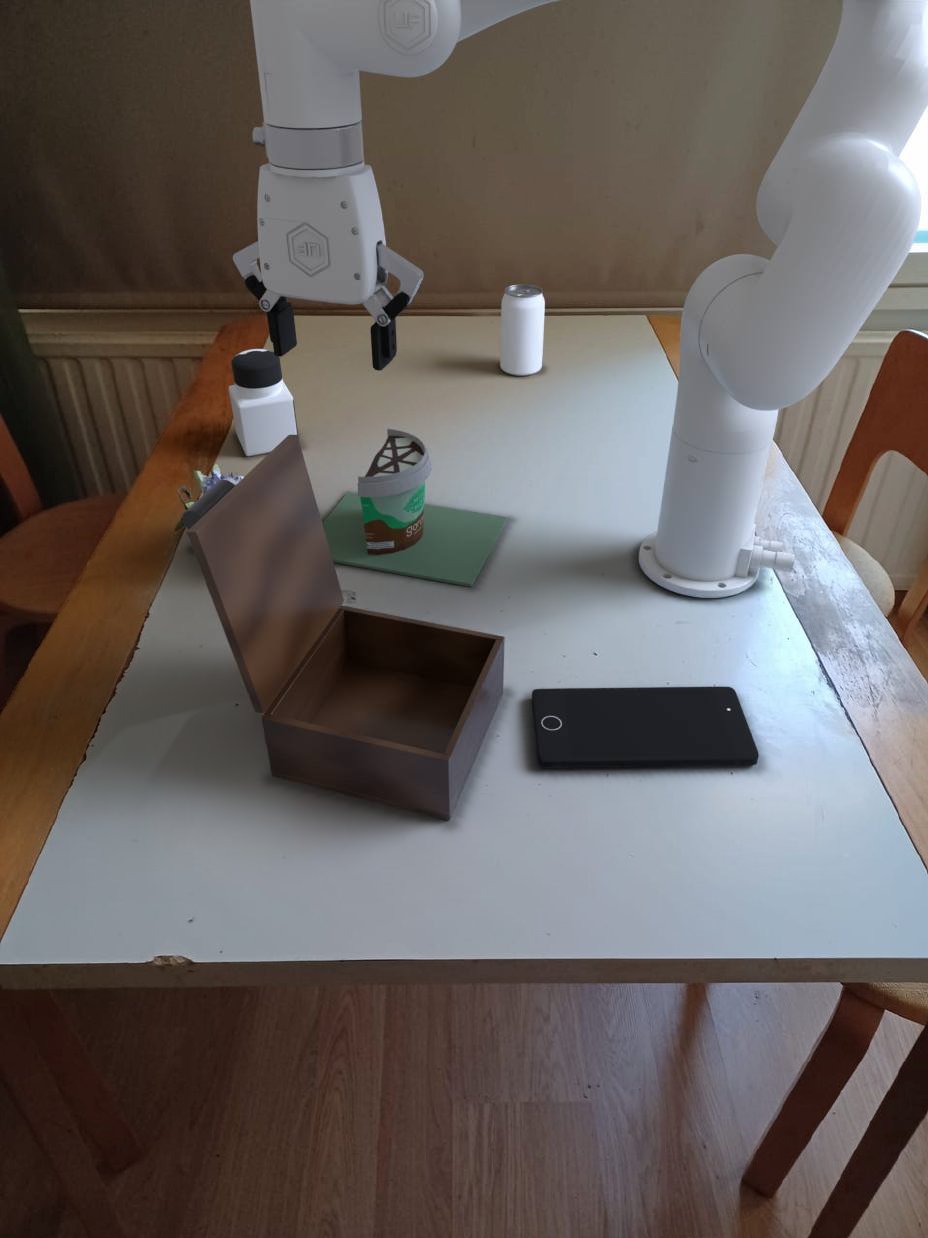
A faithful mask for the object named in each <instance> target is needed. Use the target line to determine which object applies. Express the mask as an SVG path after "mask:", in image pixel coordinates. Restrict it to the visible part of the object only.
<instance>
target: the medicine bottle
mask: <svg viewBox="0 0 928 1238" xmlns="http://www.w3.org/2000/svg"><path fill="white" fill-rule="evenodd" d="M230 363H231V369H232V375H233V383H234V384H232V385H229V386H228V394H229V400H230V404H231V406H230V407H231V411H232V416H233V422H234V428H235V434H236V436H237V438H238V441H239V443H240V445H241V447H242V449H243V453H244V454H245V456H246V457H253V456H259V455H265V454H269V453H270V452H271V451H272V450H273V449H274V448H275V447H276V446H277V445H279V444H280V443H281V442H282V441H283V440H284V439H285V438H286V437H287V436H288V435H298V439H299V431H298V430H299V429H298V422H297V416H296V408H295V400H294V397H293V395H292V393H291V391H290V390H289V389H288V387H287V385H286V384H285V381H284V379H283V371H282V366H281V365H282V364H281V357H279V356H275V355H274V351H272V350H268V349H264V348H253V349H247V350H243V351H241V352H239V353H238V354H236V355H234V357H233V358H232V359H231V362H230ZM299 440H300V439H299Z"/></svg>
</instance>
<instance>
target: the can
mask: <svg viewBox="0 0 928 1238" xmlns="http://www.w3.org/2000/svg"><path fill="white" fill-rule="evenodd" d="M545 301H546V300H545V297H544V295H543V288H541V287H540V286H537V285H534V284H524V283H522V284H513V285H509V286H506V287H505V288H504V293H503V296H502V299H501V305H500V344H499V345H500V346H499V350H500V353H499V356H500V357H499V367H500V369H501V370H502V371H503V372H504V373H506V374H507V375H511V376H516V377H528V376H533V375H535V374H537V373H539V372H540V371H541V369H542V367H543V354H544V353H543V352H544V334H545V333H544V330H545V312H546V311H545V309H546V302H545Z"/></svg>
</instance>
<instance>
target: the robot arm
mask: <svg viewBox="0 0 928 1238" xmlns="http://www.w3.org/2000/svg"><path fill="white" fill-rule="evenodd" d="M559 1H561V0H249V4H250V10H251V13H250V14H251V20H252V29H253V30H252V31H253V37H254V38H253V39H254V46H255V54H256V62H257V71H258V80H259V88H260V89H259V90H260V97H261V107H262V115H263V121H262V126H261V127H259V126H255V127H254V128H253V129H252V134H251V135H252V136H251V137H252V141H253V144H254V145H255V146H257V147H262V148H264V149H265V156H266V159H268V162H267V163H264V164H263V165H261V166H260V167H259V172H258V185H257V205H256V206H257V207H256V209H257V211H256V212H257V213H256V215H257V216H256V218H257V219H256V221H257V241H255V242H253V243H251V244H250V245H248V246H246V247H244V248H242V249H241V250H239V251H237V252H235V253H234V254H233V255H232V260H233V263H234V265H235V266H236V268H237V270H238V272H239V273H240V275H241V277H242V278H243V279H244V285H245V287H246V288H247V289H248V291H249V292H250V293H251V294H252V295H253V296H254V297H255V298H256V300H257V301H258V302H259V303H258V304H259V307H260V309H261V310H262V311H263V312H266V316H267V317H266V319H267V327H268V333H269V339H270V342H271V344H272V348H273V352H274V355H275V356H279V357H280V358H282V357H283V356H285V355H287V353H289V352H290V351H292V350H293V349H295V348H296V347H297V345H298V340H297V330H296V323H295V322H296V321H295V313H294V306H293V305H292V302H291V301H288V300H287V299H288V298H291V299H298V300H299V299H300V300H306V301H313V302H315V301H316V302H324V303H332V304H340V305H341V304H342V305H359V304H362V306H364V308H365V309H366V311H367V312H368V313H369V314H370V316H371V317H372V318H373V319H374V323H373V324H372V325H371V326H370V331H369V332H370V345H371V360H372V361H371V362H372V368H373V369H374V371H381V372H382V371H383V370H384V369H385V368H386V367H387V366H388V365H389V364H391V362H393V360H394V358H395V357H396V356H397V352H398V345H397V342H398V341H397V320H396V319H397V317H398V316H399V315H401V313H402V312H403V311H404V310H405V309H406V308H407V307H408V306H409V305H410V304H411V303H412V302H413V301H414V299H415V295H416V294H417V292H418V290H419V288H420V286H421V284H422V281H423V280H424V276H425V274H424V271H423V269H421V268H419V267H418V266H417V265H415V264H413V263H412V262H411V261H409V260H408V259H406V258H404V257H403V256H402V255H400V254H398V253H397V252H395V251H394V250H393V249H391V248H390V247H388V246H387V241H386V234H385V226H384V225H385V224H384V219H383V212H382V206H381V202H380V200H381V199H380V196H379V192H378V187H377V183H376V178H375V175H374V171H373V168H372V166H371V165H369V164H365V148H364V133H363V120H362V119H363V117H362V115H363V114H362V98H361V82H360V80H361V79H360V72H366V73H371V74H378V75H385V76H390V77H398V78H418V77H422V76H425V75H426V76H427V75H429V74H430V73H433V72H434V71H436V70H438V69H439V68H440V67H441V66H442V65H443V64H445V62H447V60H448V59H449V57H450V56H451V54H452V53H453V52H454V49H455V47H456V45H457V43H459V42H461V41H463V40H465V39H467V38H469V37H472V36H473V35H475V34H477V33H479V32H481V31H484V30H486V29H488V28H489V27H492V26H494V25H496V24H498V23H500V22H503V21H504V20H506V19H509V18H511V17H514V16H516V15H518V14H521V13H523V12H524V13H525V12H526V11H529V10H532V9H535V8H536V7H539V6H543V5H546V4H550V3H555V2H559ZM840 17H841V18H840V23H839V26H838V31H837V35H836V38H835V39H834V40H835V41H834V43H833V46H832V49H831V51H830V53H829V55H828V58H827V60H826V61H825V63H824V65H823V68H822V70H821V72H820V74H819V76H818V78H817V80H816V82H815V85H814V86H813V88H812V90H811V92H810V93H809V95H808V97H807V99H806V100H805V103H804V104H803V106H802V107H801V110H800V111H799V112H798V115H797V117H796V118H795V120H794V122H793V124H792V126H791V127H790V129H789V131H788V133H787V135H786V137H785V138H784V140H783V142H782V143H781V146H780V147H779V149H778V151H777V153H776V154H775V156H774V158H773V159H772V161H771V162H770V165H769V167H768V168H767V170H766V172H765V174H764V176H763V178H762V179H761V180H762V181H761V183H760V185H759V188H758V191H757V194H756V198H755V213H756V218H757V222H758V224H759V226H760V228H761V229H762V231H763V233H764V235H765V236H766V237H767V238H768V239H769V240H770V241H771V242H772V243H773V244H774V245H775V246H776V249H775V251H774V252H773V254H772V256H771V258H770V260H769V259H767V258H765V257H762V256H759V255H755V254H751V253H741V254H740V253H739V254H738V253H737V254H732V255H728V256H725V257H722V258H720V259H718V260H716V261H715V262H713V263H711V264H710V265H708V267H706V268H705V269H703V271H702V272H701V273H700V274H699V275H698V276H697V277H696V279H695V280H694V282H693V283H692V285H691V287H690V289H689V291H688V293H687V296H686V298H685V302H684V305H683V307H682V314H681V320H680V321H681V322H680V330H679V331H680V332H679V363H678V379H677V392H676V399H675V407H674V413H673V419H672V427H671V433H670V440H669V446H668V453H667V461H666V468H665V474H664V480H663V488H662V493H661V502H660V508H659V515H658V516H659V517H658V523H657V528H656V529H657V530H656V531H655V532H653V533H652V534H649V535H648V536H647V537H646V538H645V539H644V540H643V541H642V543H641V544H640V547H639V552H638V563H639V567H640V569H641V570H642V572H643V573H644V574H645V575H646V577H648V578H649V579H650V580H651V581H652V582H654V583H655V584H656V585H658V586H660V587H662V588H664V589H665V590H668V591H671V592H674V593H676V594H679V595H683V596H687V597H693V598H701V599H719V598H726V597H727V598H728V597H731V596H734V595H737V594H740V593H742V592H745V591H746V590H748V589H749V588H751V587H752V586H753V585H754V584H755V582H757V579H758V577H759V574H760V570H761V568H766V569H771V570H774V571H779V572H786V573H792V572H793V567H794V562H795V557H796V556H795V553H792V552H784V551H782V550H783V544H784V542H783V541H778V540H766V539H761V536H758V535H755V534H756V527H757V524H756V522H755V521H756V516H757V511H758V508H759V507H758V506H759V503H760V499H761V498H760V497H761V493H762V488H763V485H764V479H765V475H766V471H767V467H768V461H769V457H770V453H771V448H772V445H773V444H772V443H773V440H774V438H775V437H774V436H775V432H776V428H777V427H776V426H777V422H778V418H779V410H782V409H785V408H788V407H790V406H793V405H794V404H797V403H799V402H800V401H802V400H803V399H805V398H806V397H807V396H808V395H811V393H813V391H815V390H816V389H817V388H818V387H819V386H820V385H821V384H822V383H823V381H825V379H826V378H827V377H828V375H830V373H831V372H832V370H833V369H834V368H835V366H836V365H837V363H839V361H840V359H841V358H842V356H843V355H844V353H845V352H846V351H847V349H848V347H849V346H850V344H851V343H852V342H853V340H854V339H855V338H856V336H857V334H858V333H859V331H860V330H861V328H862V327H863V325H864V324H865V322H866V321H867V320H868V318H869V316H870V315H871V313H872V311H873V310H874V309H875V307H876V306H877V304H878V303H879V301H880V300H881V298H882V297H883V295H884V294H885V292H886V291H887V289H888V288H889V286H890V285H891V283H892V282H893V280H894V279H895V277H896V276H897V275H898V272H899V271H900V269H901V268H902V266H903V264H904V263H905V261H906V259H907V257H908V256H909V253H910V251H911V249H912V246H913V245H914V241H915V239H916V236H917V233H918V229H919V225H920V220H921V214H922V195H921V190H920V187H919V186H920V185H919V184H918V181H917V179H916V177H915V175H914V173H913V172H912V170H911V169H910V168H909V166H908V165H907V164H906V163H905V162H904V161H903V160H902V159H901V158H899V157H900V155H901V153H902V152H903V150H904V148H905V147H906V146H907V143H908V141H909V140H910V138H911V137H912V134H913V132H914V131H915V129H916V128H917V125H918V123H919V121H920V120H921V119H922V116H923V115H924V113H925V111H926V109H927V107H928V0H842V5H841V16H840ZM258 260H259V265H258ZM259 266H260V267H259ZM389 274H390V275H392V276H393V277H395V278H397V279H398V281H399V283H400V285H399V288H398V291H397V293H396V294H395V296H393V295H392V293H391V292H390V291H389V289H388V288H387V287H386V285H387V283H388V275H389Z"/></svg>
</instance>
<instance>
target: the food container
mask: <svg viewBox="0 0 928 1238" xmlns="http://www.w3.org/2000/svg"><path fill="white" fill-rule="evenodd" d="M386 429H387V430H386V432H387V433H386V435H387V438H386V440H385V442H384V444H383V446H382V447H381V448H380V450H379V451H378V452H377V453H376V454H375V455H374V458H373V459H372V462H371V464H370V466H369V468H368V470H367V472H366V474H365V475H364V476H359V475H358V476H357V494H358V497H360V499H361V506H362V514H363V522H364V529H365V537H366V545H367V552H368V554H375V555H380V554H391V553H395V552H399V551H402V550H406V549H407V548H409V547H411V546H413V545H415V544H416V543H417V542H418V541H419V540H420V539H421V537H422V535H423V524H424V504H425V496H426V481H427V479H428V478H429V477H430V475H431V474H432V469H433V466H432V461H431V458H430V455H429V454H430V453H429V451H428V449H427V448H426V445H425V444H424V442H423V440H421V439H420V438H419V437H418V436H417V435H414V434H412V433H410V432H407V431H403V430H399V429H395V428H386Z"/></svg>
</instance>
